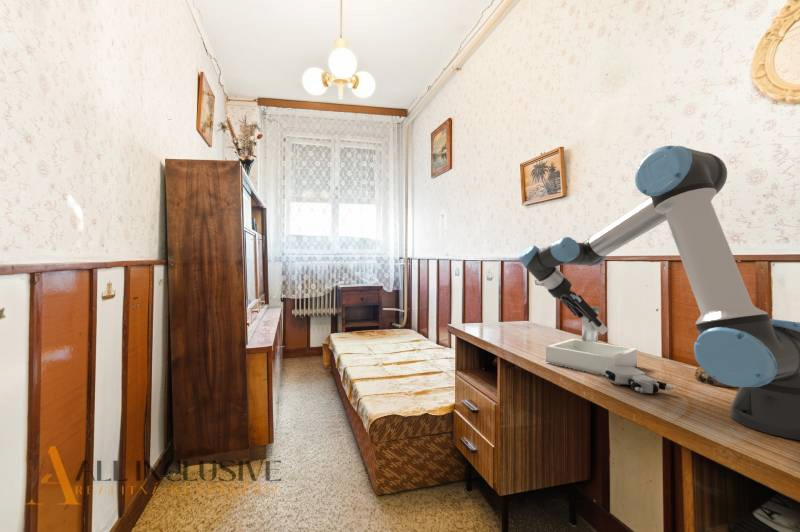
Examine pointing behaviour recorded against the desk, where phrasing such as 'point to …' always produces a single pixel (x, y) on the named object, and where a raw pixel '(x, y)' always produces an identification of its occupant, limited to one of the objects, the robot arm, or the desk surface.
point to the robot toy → (634, 379)
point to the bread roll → (707, 378)
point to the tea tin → (589, 328)
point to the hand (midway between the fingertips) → (600, 330)
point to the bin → (590, 355)
